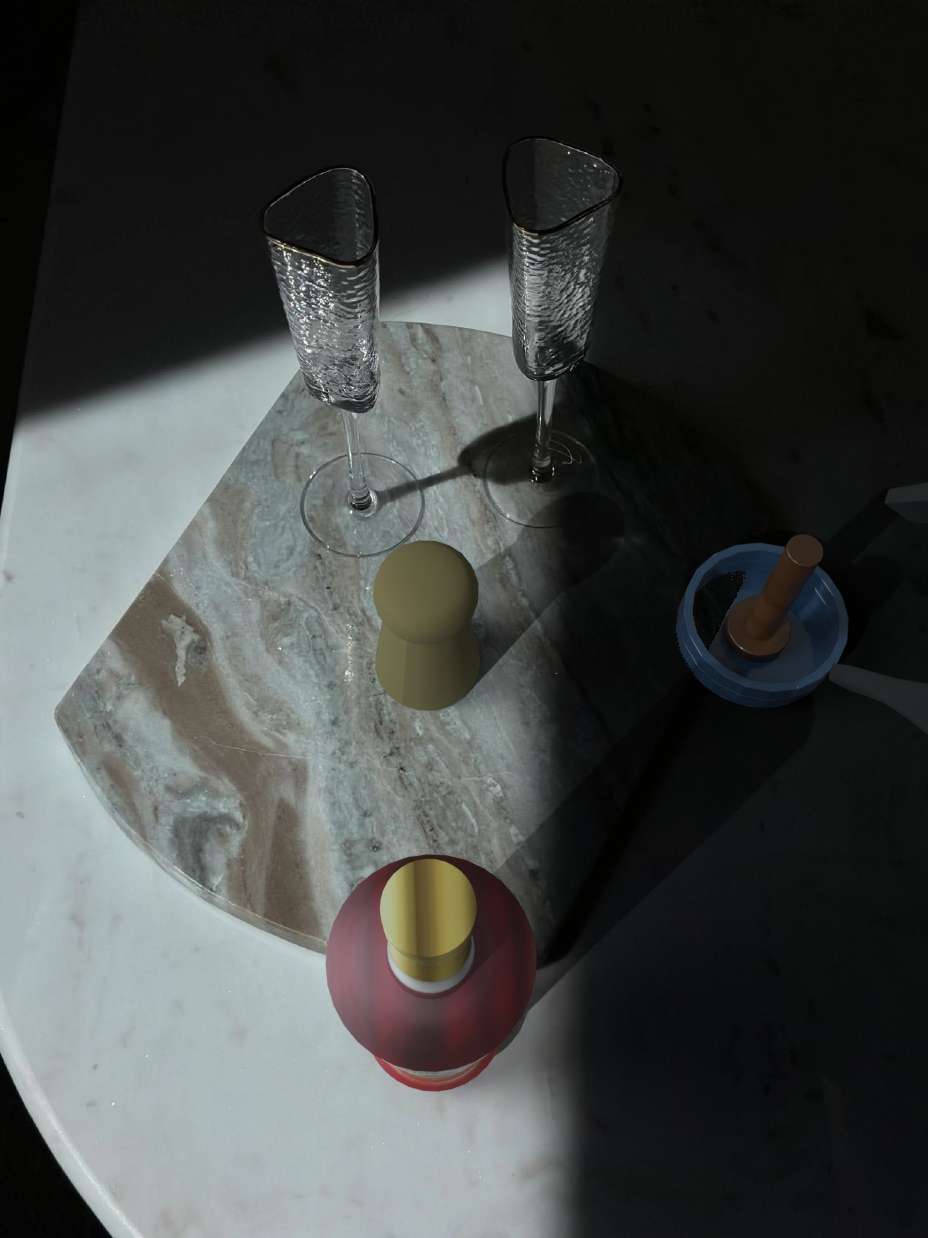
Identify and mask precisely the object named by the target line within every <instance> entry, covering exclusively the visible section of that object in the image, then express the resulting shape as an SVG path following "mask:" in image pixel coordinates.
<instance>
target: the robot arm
mask: <svg viewBox="0 0 928 1238" xmlns="http://www.w3.org/2000/svg"><path fill="white" fill-rule="evenodd" d="M884 504H885V505H886V506H887V507H889V509H892V510H893V511H894V512H895V513H896V514H897V515H899V516H901V517H902V518H904V519H905V520H906V521H908V522H915V523H921V524H925V525H928V481H925V482H922V483H917V484H916V483H915V484H911V485H905V486H899V487H892V488H891V487H890V488H889V489H888V490H887V493H886V497H885V499H884ZM828 679H829V681H830V682H832V683H834V684H836V685H838V686H839V687H842V688H844V689H846V690H847V691H849V692H852V693H855V694H859V695H862V696H864V697H867V698H870V699H873V700H875V701H877V702H880V703H883V704H884V705H886V706H888V707H889V708H890V709H892V710H894V711H895V712H897V713H899V714H900V715H901V716H903V718H905V719H907V720H908V721H910V722H911V723H913V725H914V726H916V727H917V728H918V729H920V730H921V731H922V732H924V733H925V734H926V735H928V682H921V681H915V680H914V681H913V680H910V679H909V680H907V679H901V678H897V677H894V676H889V675H885V674H882V673H879V672H874V671H871V670H869V669H864V668H861V667H857V666H854V665H849V664H843V663H837V664H836V663H833V665H832V668H831V671H830V673H829V674H828Z"/></svg>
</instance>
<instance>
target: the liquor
mask: <svg viewBox="0 0 928 1238" xmlns="http://www.w3.org/2000/svg"><path fill="white" fill-rule="evenodd" d="M534 937H535V936H534V932H533V929H532V927H531V924H530V920H529V919H528V916H527V913H526V911H525V910H524V909H523V907H522V904H521V903H520V902H519V900H518V898H517V897H516V895H515V894H514V893H513V892H512V891H511V890H510V889H509V888H508V886H507V885H506V884H505V883H504V882H503V881H502V880H501V879H500V878H498V877H497V876H495V875H494V874H493V873H492V872H490V871H489V870H487V869H486V868H485V867H482V866H480V865H479V864H476V863H475V862H472V861H469V860H467V859H464V858H461V857H456V856H453V855H448V854H431V853H430V854H429V853H425V854H420V855H419V854H418V855H412V856H411V855H410V856H407V857H406V856H405V857H403V858H401V859H398V860H394V861H392V862H389V863H387V864H385V865H384V866H382V867H380V868H379V869H377V870H375V871H374V872H372V873H370V874H369V875H368V876H367V877H366V878H365V879H363V880H362V881H361V882H360V883H358V885H356V887H354V889H353V890H352V892H351V893H350V894H349V895H348V897H347V898H346V899H345V900H344V902H343V903H342V904H341V907H340V909H339V911H338V913H337V915H336V917H335V919H334V920H333V922H332V926H331V930H330V933H329V937H328V940H327V942H326V943H327V945H326V954H325V974H326V982H327V983H326V984H327V988H328V992H329V995H330V999H331V1002H332V1006H333V1008H334V1009H335V1011H336V1013H337V1015H338V1017H339V1019H340V1021H341V1022H342V1024H343V1026H344V1027H345V1029H346V1030H347V1031H348V1032H349V1034H350V1035H351V1036H352V1037H353V1038H354V1039H355V1041H356V1042H357V1043H358V1044H359V1045H361V1046H362V1047H363V1048H364V1049H365V1050H366V1051H368V1052H369V1053H370V1054H372V1056H373V1057H374V1060H375V1061H376V1062H377V1063H378V1065H379V1066H380V1067H381V1068H382V1069H383V1071H384V1072H385V1073H386V1074H388V1075H389V1076H390V1077H391V1078H392V1079H394V1080H395V1081H396V1082H398V1083H400V1084H402V1085H404V1086H406V1087H407V1088H410V1089H415V1090H418V1091H422V1092H435V1093H439V1092H444V1091H450V1090H454V1089H456V1088H459V1087H461V1086H464V1085H467V1084H468V1083H469V1082H470V1081H472V1080H474V1079H476V1078H477V1077H478V1076H479V1075H480V1074H481V1073H483V1071H485V1069H486V1068H487V1067H489V1065H490V1063H491V1062H492V1061H493V1059H494V1058H495V1056H496V1055H497V1053H498V1050H499V1047H500V1046H501V1044H502V1043H503V1042H504V1041H505V1040H506V1039H507V1038H508V1037H509V1036H511V1034H512V1033H513V1031H514V1030H515V1028H516V1027H517V1025H518V1024H519V1023H520V1021H521V1019H522V1018H523V1016H524V1014H525V1012H526V1010H527V1008H528V1005H529V1003H530V1001H531V998H532V996H533V991H534V986H535V982H536V977H537V949H536V943H535V942H536V941H535V938H534Z"/></svg>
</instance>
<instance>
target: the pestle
mask: <svg viewBox="0 0 928 1238" xmlns="http://www.w3.org/2000/svg"><path fill="white" fill-rule="evenodd" d="M784 547H785V549H784V551H783V552H782V554H781V556H780V558H779V559H778V561H777V563H776V565H775V566H774V568H773V570H772V572H771V573H770V575H769V577H768V579H767V581H766V582H765V584H764V586H763V588H762V589H761V591H760V593H759V595H758V596H757V598H750V599H746V600H743V601H741V602H739V603H738V604H736V605H735V606H734V607H733V608H732V610H731V611H730V613H729V615H728V617H727V619H726V621H725V624H724V636H725V639H726V642H727V644H728V645H729V647H730V648H731V649H732V651H733V652H734V653H736V654H737V655H738V656H740V657H741V658H743V659H746V660H749V661H753V662H765V661H769V660H772V659H774V658H775V657H777V656H778V655H779V654H780V653H781V652H782V651H783V649H784V648H785V647H786V645H787V643H788V642H789V639H790V636H791V625H790V621H789V619H788V617H787V615H786V614H787V613H788V611H789V610H790V608H791V607H792V605H793V603H794V602H795V600H796V599H797V597H798V596H799V594H800V592H801V591H802V589H803V588H804V586H805V585H806V583H807V581H808V580H809V578H810V577H811V575H812V574H813V572H814V570H815V569H816V567H817V566H819V565H820V563H821V561H822V560H823V557H824V548H823V546H822V544H821V543H820V541H819V540H818V539H817V538H816V537H814V536H812V535H809V534H805V533H803V534H802V533H801V534H796V535H794V536H792V537H791V538H790V539H789V540H788V541H787V543H786V545H785V546H784Z"/></svg>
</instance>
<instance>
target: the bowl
mask: <svg viewBox="0 0 928 1238" xmlns="http://www.w3.org/2000/svg"><path fill="white" fill-rule="evenodd" d="M785 547H786V546H782V545H777V544H776V545H775V544H770V543H765V542H753V543H744V544H743V543H742V544H736V545H732V546H731V547H728V548H725V549H723V550H721V551H718V552H716V553H714V554H712V555H711V556H710V557H709V558H708V559H707V560H706V561H704V563H702V564H701V565H700V566H698V567H697V569H696V570H695V572H694V574H693V575H692V577H691V579H690V581H689V584H688V585H687V587H686V589H685V591H684V593H683V596H682V598H681V601H680V603H679V605H678V608H677V614H678V615H676V622H677V623H675V634H676V633H677V635H676V638H677V637H678V640H677V643H678V642H679V645H678V648H679V647H680V648H679V651H681V652H680V654H681V653H682V654H681V656H682V655H683V656H682V658H683V657H684V658H685V660H686V662H687V663H688V665H689V667H690V668H691V670H692V672H693V673H694V674H693V673H692V672H691V673H692V674H693V676H694V677H695V678H696V679H697V680H698V681H699V682H700V683H701V684H702V685H703V686H704V687H705V688H707V689H708V690H710V691H711V692H713V693H714V694H715V695H717V696H719V697H720V698H723V699H724V700H728V701H730V702H732V703H734V704H738V705H741V706H744V707H751V708H758V709H766V708H767V709H768V708H777V707H783V706H788V705H790V704H792V703H795V702H797V701H799V700H801V699H804V698H806V697H808V696H809V695H810V694H811V693H812V692H814V690H815V689H816V688H818V687H819V685H820V684H821V683H822V682H823V681H825V679H826V678H827V677H828V676H829V674H830V671H831V668H832V665H833V663H836V664H839V661H840V659H841V656H842V655H843V652H844V650H845V648H846V646H847V642H848V638H849V637H848V635H849V633H848V632H849V615H848V612H847V611H848V610H847V608H846V605H845V601H844V598H843V595H842V593H841V592H840V590H839V589H838V587H837V585H836V584H835V583H834V581H833V579H832V578H831V577H830V575H829V574H828V573H827V572H826V571H825V570H823V569H822V568H821V567H820V566H819V565H818V566H817V567H816V569H815V570H814V572H813V574H812V575H811V577H810V578H809V580H808V581H807V583H806V585H805V586H804V588H803V589H802V591H801V592H800V594H799V596H798V597H797V599H796V600H795V602H794V603H793V605H792V607H791V608H790V610H789V611H788V613H787V614H786V615H787V617H788V619H789V621H790V625H791V636H790V639H789V642H788V643H787V645H786V647H785V648H784V649H783V651H782V652H781V653H780V654H779V655H778V656H777V657H775V658H774V659H772V660H769V661H765V662H753V661H749V660H746V659H743V658H741V657H740V656H738V655H737V654H736V653H734V652H733V651H732V649H731V648H730V647H729V645H728V644H727V642H726V639H725V636H724V624H725V621H726V619H727V617H728V615H729V613H730V611H731V610H732V608H733V607H734V606H735V605H736V604H738V603H739V602H741V601H743V600H746V599H750V598H757V596H758V595H759V593H760V591H761V589H762V588H763V586H764V584H765V582H766V581H767V579H768V577H769V575H770V573H771V572H772V570H773V568H774V566H775V565H776V563H777V561H778V559H779V558H780V556H781V554H782V552H783V551H784V549H785ZM736 571H742V572H743V571H745V572H746V573H745V572H744V573H745V575H743V574H742V576H743V577H745V579H744V578H743V584H742V586H741V587H740V590H739V592H737V597H736V598H735V599H734V601H733V603H732V604H731V606H730V609H728V611H727V613H726V615H725V617H724V619H723V621H722V623H721V626H720V625H719V626H720V629H719V632H717V634H716V635H715V638H714V640H713V641H712V644H710V647H709V650H707V648H706V647H705V645H704V643H703V642H702V640H701V638H700V637H699V635H698V633H697V629H696V625H695V621H694V616H693V605H694V597H695V594H696V593H697V592H698V591H699V590H700V589H701V588H702V587H703V586H705V585H706V584H707V583H708V582H709V581H710V580H712V579H714V578H717V577H719V576H721V575H724V574H727V573H728V572H731V574H734V573H732V572H736ZM738 574H740V573H738ZM734 575H736V574H734ZM731 577H733V576H731ZM739 577H740V576H739ZM731 580H733V579H731ZM684 658H683V659H684ZM685 660H684V661H685ZM686 662H685V663H686ZM689 667H688V668H689ZM691 670H690V671H691Z"/></svg>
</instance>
